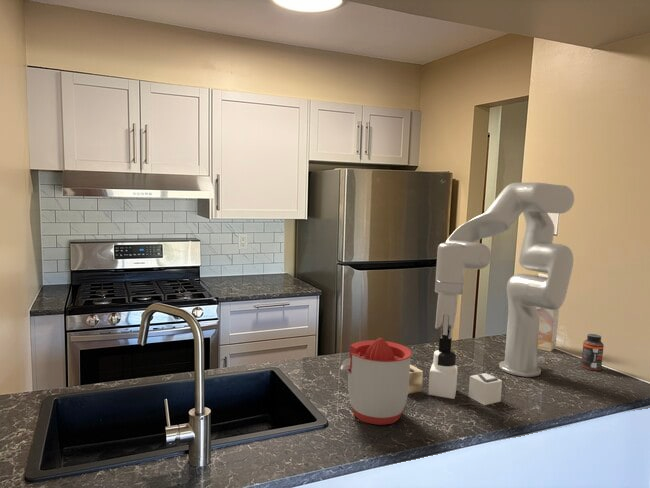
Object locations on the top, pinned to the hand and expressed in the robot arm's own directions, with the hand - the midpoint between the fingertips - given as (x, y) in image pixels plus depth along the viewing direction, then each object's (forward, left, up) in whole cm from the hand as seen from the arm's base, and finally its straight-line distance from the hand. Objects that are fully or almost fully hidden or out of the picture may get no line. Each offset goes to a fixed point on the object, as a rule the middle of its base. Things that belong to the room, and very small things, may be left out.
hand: (444, 351), depth 134 cm
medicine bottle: (0, 0, -12) cm, 12 cm away
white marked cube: (-8, +8, -12) cm, 17 cm away
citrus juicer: (+26, +4, -12) cm, 29 cm away
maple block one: (+8, -6, -12) cm, 16 cm away
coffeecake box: (-63, -21, -12) cm, 68 cm away
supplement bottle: (-61, +4, -12) cm, 63 cm away
